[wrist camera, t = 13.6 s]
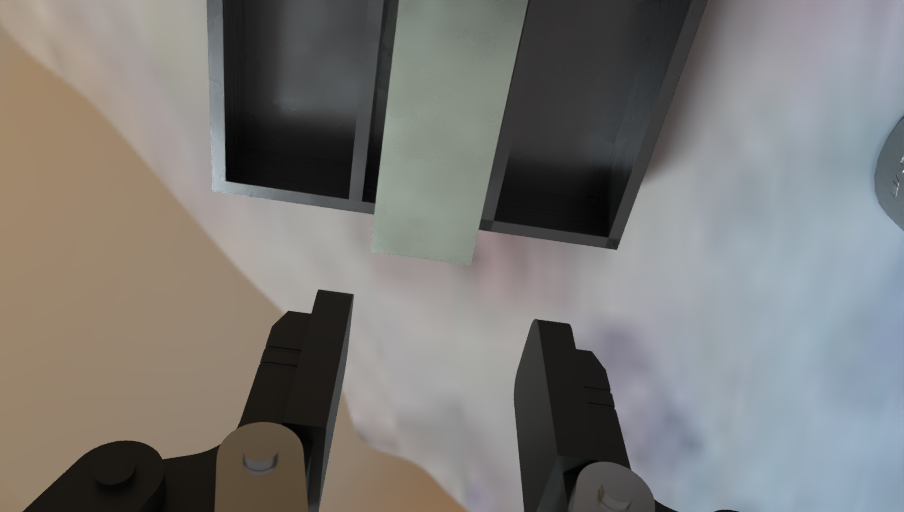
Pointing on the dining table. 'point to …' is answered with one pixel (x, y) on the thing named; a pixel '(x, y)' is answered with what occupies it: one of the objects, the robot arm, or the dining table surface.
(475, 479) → the dining table surface
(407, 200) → the grey-green rectangular block
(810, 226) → the dining table surface
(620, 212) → the rack
